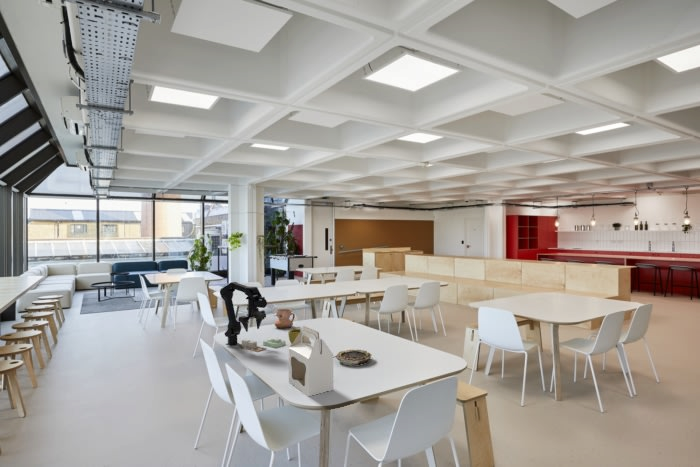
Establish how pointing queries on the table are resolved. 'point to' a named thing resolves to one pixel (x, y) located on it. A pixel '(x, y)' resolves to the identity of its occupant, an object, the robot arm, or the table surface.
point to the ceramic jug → (284, 318)
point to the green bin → (271, 344)
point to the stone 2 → (276, 340)
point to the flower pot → (293, 334)
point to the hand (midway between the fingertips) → (252, 330)
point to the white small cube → (252, 344)
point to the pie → (353, 357)
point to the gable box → (310, 363)
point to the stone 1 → (245, 343)
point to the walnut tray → (254, 349)
